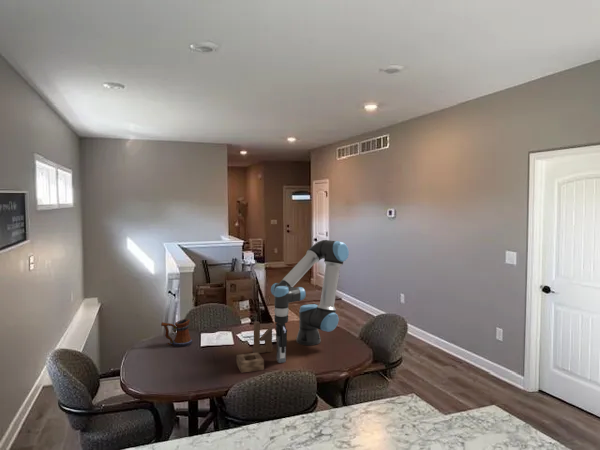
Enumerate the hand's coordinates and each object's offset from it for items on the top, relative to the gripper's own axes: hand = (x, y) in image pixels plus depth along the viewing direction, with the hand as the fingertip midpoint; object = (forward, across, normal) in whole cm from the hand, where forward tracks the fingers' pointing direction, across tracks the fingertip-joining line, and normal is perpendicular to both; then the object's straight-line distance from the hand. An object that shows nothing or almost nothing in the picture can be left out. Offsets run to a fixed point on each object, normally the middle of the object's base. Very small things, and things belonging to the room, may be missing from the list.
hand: (281, 356), depth 233 cm
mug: (+3, -46, -52) cm, 69 cm away
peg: (+3, 0, 0) cm, 3 cm away
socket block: (+3, +2, -18) cm, 18 cm away
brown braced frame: (+3, -17, -6) cm, 18 cm away
